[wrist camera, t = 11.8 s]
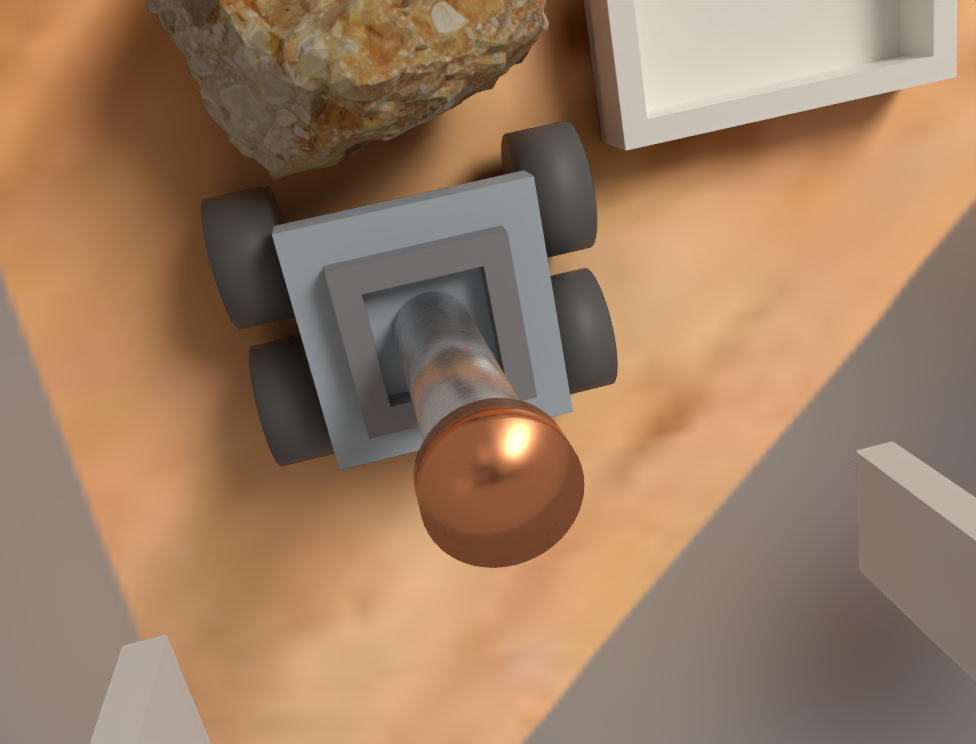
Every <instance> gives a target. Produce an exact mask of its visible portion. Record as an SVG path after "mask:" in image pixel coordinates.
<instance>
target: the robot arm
mask: <svg viewBox="0 0 976 744" xmlns="http://www.w3.org/2000/svg"><path fill="white" fill-rule="evenodd" d="M856 478H857V479H856V481H857V511H858V540H859V570H860V571H861V572H862V573H863V574H864V575H865V576H866V577H867V578H868V579H869V580H870V581H871V582H872V583H873V584H874V585H875V586H876V587H877V588H878V589H879V590H881V591H882V592H883V593H884V594H885V595H886V596H887V597H888V598H889V599H890V600H891V601H892V602H893V603H894V604H895V605H896V606H897V607H899V609H900V610H901V611H902V612H903V613H904V614H906V616H908V617H909V618H910V619H911V620H912V621H913V622H914V623H915V624H916V625H917V626H918V627H919V628H920V629H921V630H922V631H923V632H924V633H925V634H926V635H927V636H928V637H929V638H931V640H933V641H934V642H935V643H936V644H937V645H938V646H939V647H940V648H941V649H942V650H943V651H944V652H945V653H946V654H947V655H948V656H949V657H950V658H951V659H952V660H953V661H954V662H955V663H957V665H959V666H960V667H961V668H962V669H963V670H964V671H965V672H966V673H967V674H968V675H969V676H970V677H971V678H972V679H973V680H974V681H976V498H975V497H974V496H972V495H971V494H969V493H968V492H966V491H965V490H963V489H961V488H960V487H959V486H957V485H956V484H954V483H953V482H952V481H950V480H949V479H947V478H946V477H944V476H943V475H941V474H940V473H938V472H937V471H935V470H934V469H932V468H931V467H929V466H928V465H926V464H925V463H924V462H922V461H921V460H919V459H918V458H916V457H915V456H913V455H912V454H910V453H909V452H907V451H906V450H904V449H903V448H901V447H900V446H899V445H897V444H896V443H894V442H893V441H892V442H888V443H884V444H881V445H877V446H873V447H869V448H865V449H862V450H858V451H856ZM90 744H211V743H210V741H209V738H208V736H207V734H206V731H205V729H204V726H203V724H202V721H201V719H200V716H199V714H198V711H197V709H196V706H195V704H194V701H193V699H192V696H191V694H190V691H189V689H188V686H187V684H186V681H185V679H184V676H183V674H182V671H181V669H180V667H179V664H178V662H177V659H176V657H175V654H174V652H173V649H172V647H171V644H170V642H169V639H168V637H167V634H165V635H162V636H158V637H154V638H150V639H147V640H143V641H139V642H135V643H132V644H128V645H124V646H122V649H121V652H120V655H119V658H118V661H117V664H116V667H115V670H114V673H113V676H112V679H111V682H110V685H109V688H108V691H107V694H106V697H105V700H104V703H103V706H102V709H101V712H100V715H99V718H98V721H97V724H96V727H95V730H94V733H93V736H92V739H91V742H90Z"/></svg>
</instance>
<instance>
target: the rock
mask: <svg viewBox="0 0 976 744" xmlns="http://www.w3.org/2000/svg"><path fill="white" fill-rule="evenodd" d="M146 5H147V11H149V12H152V13H155V14H157V15H158V17H159V19H160V21H161V24H162V26H163V28H164V30H165V31H166V33H167V34H168V35H169V37H170V38H171V40H172V41H173V42H174V44H175V46H176V47H177V48H178V49H179V50H180V51H181V52H182V53H183V54H184V55H185V58H186V61H187V65H188V68H189V71H190V74H191V76H192V78H193V79H194V80H195V81H196V82H197V83H198V84H199V86H200V90H199V93H200V95H201V97H202V107H203V108H204V109H205V110H206V111H207V113H208V114H209V115H210V116H211V117H212V119H213V120H214V121H215V122H216V123H217V124H218V125H219V126H220V127H221V128H222V129H223V130H224V131H225V132H226V134H227V137H228V140H229V142H230V143H232V144H234V145H235V146H236V147H237V149H238V150H239V152H240V153H241V154H242V155H244V156H246V157H249V158H254V159H255V160H256V161H258V162H259V163H260V164H261V165H262V166H263V167H264V168H265V169H267V170H268V171H269V174H270V178H272V179H273V180H275V181H277V180H279V179H282V178H284V177H286V176H289V175H292V174H296V173H299V172H304V171H309V170H315V169H321V168H327V167H331V166H334V165H337V164H340V163H342V162H343V161H344V160H346V159H347V158H348V157H350V156H351V155H352V154H354V153H355V152H357V151H359V150H360V151H361V150H363V149H364V148H365V147H366V145H368V144H369V143H370V142H372V141H377V140H384V141H388V140H390V139H392V138H395V137H397V136H399V135H401V134H402V133H404V132H406V131H408V130H410V129H412V128H414V127H415V126H417V125H420V124H423V123H426V122H428V121H431V120H432V119H433V118H434V117H436V116H438V115H440V114H442V113H444V112H446V111H447V110H449V109H452V108H454V107H455V106H457V105H459V104H461V103H462V101H464V100H465V99H467V98H468V97H470V96H472V95H474V94H475V93H477V92H481V91H485V90H489V89H493V87H494V85H495V83H496V82H497V80H498V78H499V77H500V76H502V75H504V74H505V73H507V71H508V70H509V68H510V67H511V66H513V65H515V64H519V63H522V61H523V60H524V58H525V57H526V55H527V54H528V52H529V50H530V48H531V46H532V45H533V44H534V43H535V42H536V41H537V39H538V38H539V37H540V36H541V35H542V34H543V33H544V32H545V31H546V30H547V29H548V25H549V23H548V20H547V18H546V15H545V13H544V8H545V5H546V1H545V0H146Z"/></svg>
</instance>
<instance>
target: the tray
mask: <svg viewBox="0 0 976 744" xmlns="http://www.w3.org/2000/svg"><path fill="white" fill-rule="evenodd" d="M584 8H585V15H586V22H587V30H588V37H589V45H590V52H591V60H592V67H593V75H594V82H595V90H596V97H597V105H598V112H599V120H600V127H601V135H602V142H603V143H605V144H608V145H611V146H614V147H617V148H620V149H623V150H625V151H626V150H631V149H635V148H640V147H644V146H649V145H653V144H658V143H662V142H667V141H671V140H676V139H680V138H685V137H689V136H694V135H698V134H703V133H707V132H712V131H716V130H721V129H725V128H729V127H734V126H738V125H743V124H747V123H752V122H756V121H761V120H765V119H770V118H774V117H779V116H783V115H788V114H792V113H797V112H801V111H806V110H810V109H815V108H819V107H824V106H828V105H833V104H837V103H842V102H846V101H851V100H855V99H860V98H864V97H869V96H873V95H878V94H882V93H887V92H891V91H896V90H900V89H905V88H909V87H914V86H918V85H923V84H927V83H932V82H936V81H941V80H945V79H950V78H954V77H956V56H957V0H584Z"/></svg>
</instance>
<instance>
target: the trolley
mask: <svg viewBox="0 0 976 744" xmlns="http://www.w3.org/2000/svg"><path fill="white" fill-rule="evenodd" d="M501 156H502V168H503V175H501V176H496V177H492V178H487V179H483V180H478V181H474V182H469V183H465V184H461V185H456V186H452V187H447V188H443V189H438V190H434V191H429V192H425V193H420V194H416V195H411V196H407V197H402V198H398V199H393V200H389V201H384V202H380V203H375V204H371V205H366V206H362V207H357V208H353V209H348V210H344V211H339V212H335V213H330V214H326V215H321V216H317V217H312V218H308V219H303V220H299V221H294V222H290V223H285V224H284V222H283V219H282V216H281V213H280V210H279V207H278V204H277V201H276V199H275V196H274V194H273V192H272V189H271V188H270V186H263V187H259V188H254V189H249V190H245V191H240V192H236V193H231V194H227V195H222V196H217V197H213V198H208V199H204V200H203V201H202V205H201V216H202V225H203V231H204V237H205V242H206V247H207V251H208V255H209V259H210V263H211V267H212V270H213V274H214V277H215V280H216V283H217V286H218V289H219V292H220V295H221V298H222V300H223V303H224V305H225V308H226V310H227V312H228V314H229V316H230V318H231V320H232V322H233V323H234V325H235V326H236V327H237V328H238V329H243V328H248V327H252V326H256V325H260V324H265V323H269V322H273V321H278V320H282V319H286V318H290V317H296V321H297V324H298V328H299V331H300V335H298V336H294V337H290V338H286V339H281V340H277V341H273V342H269V343H264V344H260V345H256V346H252V347H251V348H250V351H249V365H250V374H251V381H252V386H253V392H254V397H255V401H256V405H257V409H258V413H259V417H260V421H261V424H262V428H263V431H264V434H265V437H266V440H267V443H268V445H269V448H270V450H271V453H272V455H273V457H274V459H275V461H276V462H277V464H278V465H279V466H286V465H290V464H294V463H298V462H302V461H306V460H310V459H314V458H318V457H322V456H326V455H330V454H334V453H335V456H336V460H337V463H338V467H339V470H343V469H347V468H351V467H355V466H359V465H363V464H367V463H371V462H375V461H379V460H383V459H387V458H391V457H395V456H399V455H403V454H407V453H411V452H415V451H419V449H420V447H421V445H422V443H423V438H422V434H421V431H420V427H419V424H418V420H417V417H416V413H415V410H414V406H413V403H412V399H411V396H410V392H409V389H408V385H407V382H406V378H405V375H404V371H403V368H402V364H401V361H400V357H399V354H398V350H397V347H396V343H395V340H394V334H393V327H394V321H395V318H396V315H397V313H398V311H399V310H400V308H401V307H402V306H403V305H404V304H405V303H406V302H407V301H408V300H409V299H411V298H412V297H414V296H416V295H418V294H421V293H424V292H430V291H438V292H444V293H447V294H450V295H452V296H454V297H455V298H457V299H458V300H459V301H460V302H461V303H462V304H463V305H464V306H465V307H466V309H467V311H468V312H469V314H470V316H471V318H472V319H473V321H474V323H475V325H476V326H477V328H478V330H479V331H480V333H481V335H482V337H483V338H484V340H485V342H486V343H487V345H488V347H489V349H490V350H491V352H492V354H493V356H494V357H495V359H496V361H497V362H498V364H499V366H500V368H501V369H502V371H503V373H504V374H505V376H506V378H507V380H508V381H509V383H510V385H511V387H512V388H513V390H514V392H515V393H516V395H517V397H518V399H519V400H521V401H524V402H527V403H530V404H532V405H534V406H536V407H538V408H540V409H541V410H542V411H544V412H545V413H547V414H548V415H549V416H550V417H554V416H558V415H561V414H565V413H569V412H573V410H572V404H571V398H570V394H574V393H578V392H582V391H586V390H590V389H594V388H598V387H602V386H606V385H610V384H613V383H614V382H615V380H616V377H617V369H618V362H617V349H616V342H615V336H614V331H613V326H612V322H611V318H610V314H609V311H608V307H607V304H606V301H605V298H604V296H603V293H602V291H601V288H600V286H599V284H598V282H597V280H596V278H595V277H594V275H593V274H592V272H591V271H590V270H589V269H587V268H583V269H579V270H574V271H570V272H566V273H562V274H557V275H553V276H550V271H549V265H548V259H547V258H548V257H552V256H556V255H561V254H565V253H569V252H574V251H578V250H582V249H586V248H590V247H592V246H593V245H594V242H595V239H596V233H597V209H596V199H595V192H594V186H593V181H592V176H591V171H590V167H589V164H588V160H587V157H586V153H585V150H584V148H583V145H582V142H581V140H580V138H579V135H578V133H577V132H576V130H575V128H574V127H573V125H572V124H571V123H570V122H568V121H562V122H557V123H553V124H548V125H544V126H539V127H534V128H530V129H525V130H521V131H516V132H511V133H507V134H504V135H503V138H502V144H501Z"/></svg>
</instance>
